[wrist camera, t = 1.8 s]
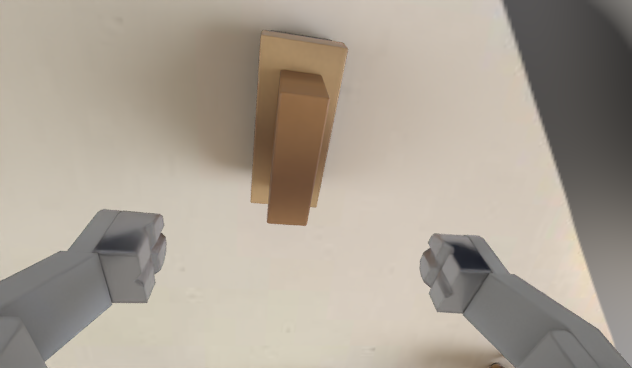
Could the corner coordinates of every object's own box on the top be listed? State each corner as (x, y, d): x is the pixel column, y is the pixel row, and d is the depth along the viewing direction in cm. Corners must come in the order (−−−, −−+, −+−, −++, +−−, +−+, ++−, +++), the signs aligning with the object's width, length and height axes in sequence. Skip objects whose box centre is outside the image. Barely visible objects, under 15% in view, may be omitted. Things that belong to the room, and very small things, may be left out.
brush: (263, 24, 15) (255, 51, 10) (339, 36, 16) (363, 67, 11) (254, 176, 20) (244, 242, 15) (312, 181, 20) (321, 246, 15)
